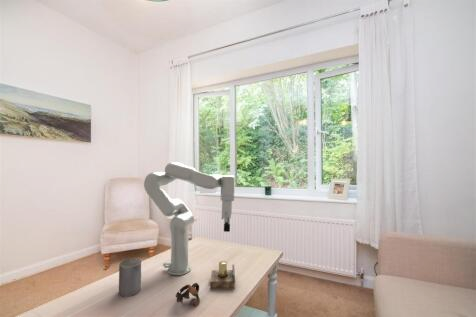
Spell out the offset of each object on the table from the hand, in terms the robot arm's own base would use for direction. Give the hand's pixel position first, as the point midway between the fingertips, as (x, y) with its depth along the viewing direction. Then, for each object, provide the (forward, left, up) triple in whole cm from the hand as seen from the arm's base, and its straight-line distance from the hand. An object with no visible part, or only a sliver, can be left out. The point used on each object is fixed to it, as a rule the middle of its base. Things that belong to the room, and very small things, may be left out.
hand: (226, 231), depth 129 cm
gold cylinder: (-2, -8, -24) cm, 25 cm away
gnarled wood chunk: (-16, -24, -24) cm, 37 cm away
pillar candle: (-46, -15, -24) cm, 54 cm away
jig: (-2, -8, -24) cm, 25 cm away
